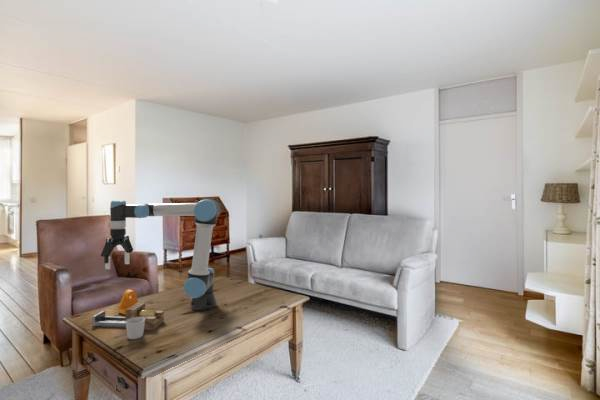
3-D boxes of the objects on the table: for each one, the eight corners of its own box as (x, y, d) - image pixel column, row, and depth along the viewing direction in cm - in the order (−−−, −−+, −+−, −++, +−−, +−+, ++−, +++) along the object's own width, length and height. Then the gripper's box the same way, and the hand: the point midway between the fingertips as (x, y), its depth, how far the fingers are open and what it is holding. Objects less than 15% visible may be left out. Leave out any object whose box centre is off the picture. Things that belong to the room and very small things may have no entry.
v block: (135, 321, 169) (135, 311, 169) (126, 327, 161) (126, 317, 161) (102, 320, 169) (103, 310, 169) (92, 326, 161) (92, 316, 161)
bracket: (123, 316, 176) (124, 294, 176) (118, 313, 180) (118, 291, 180) (143, 311, 184) (143, 290, 184) (137, 308, 189) (138, 287, 188)
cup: (132, 331, 157) (132, 314, 157) (149, 331, 158) (149, 314, 158) (122, 341, 146) (122, 323, 146) (140, 341, 147) (140, 323, 147)
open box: (163, 321, 170) (164, 303, 170) (153, 329, 159) (154, 310, 159) (137, 320, 170) (137, 302, 170) (125, 328, 159) (126, 309, 159)
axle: (156, 318, 167) (156, 309, 167) (152, 320, 162) (152, 311, 163) (129, 317, 167) (130, 308, 168) (124, 319, 163) (125, 310, 163)
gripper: (129, 226, 192) (129, 261, 192) (93, 230, 168) (92, 270, 168) (140, 226, 190) (139, 262, 191) (105, 230, 166) (104, 271, 166)
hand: (117, 266), depth 179 cm, fingers open, 13 cm apart
